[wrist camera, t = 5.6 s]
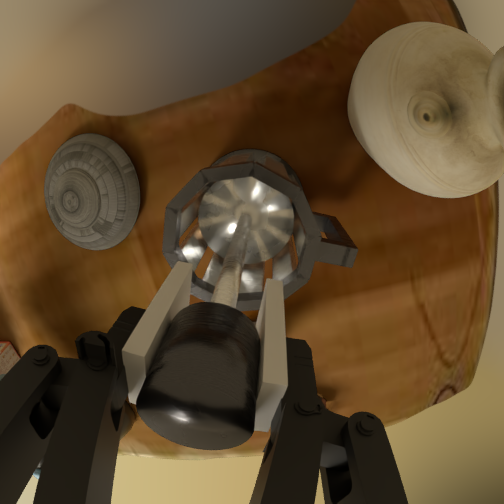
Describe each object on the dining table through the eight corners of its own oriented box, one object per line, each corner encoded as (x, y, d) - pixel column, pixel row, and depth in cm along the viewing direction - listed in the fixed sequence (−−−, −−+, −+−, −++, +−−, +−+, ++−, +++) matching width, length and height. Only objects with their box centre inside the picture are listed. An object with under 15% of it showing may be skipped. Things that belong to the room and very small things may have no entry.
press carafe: (193, 239, 35) (156, 297, 23) (207, 140, 31) (167, 148, 18) (316, 263, 35) (336, 330, 23) (341, 167, 31) (384, 192, 19)
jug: (448, 63, 24) (611, 41, 1) (446, 183, 30) (606, 272, 7) (330, 39, 25) (436, -98, 2) (330, 172, 31) (462, 283, 8)
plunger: (195, 251, 29) (94, 442, 9) (207, 163, 25) (43, 269, 6) (281, 267, 29) (291, 485, 9) (302, 181, 25) (390, 339, 6)
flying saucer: (163, 224, 35) (147, 240, 30) (78, 259, 38) (57, 276, 33) (119, 111, 30) (95, 110, 25) (39, 164, 32) (13, 172, 27)
